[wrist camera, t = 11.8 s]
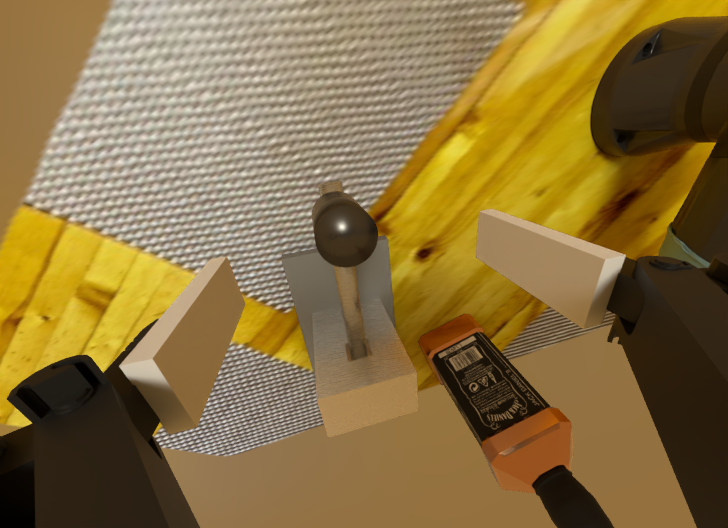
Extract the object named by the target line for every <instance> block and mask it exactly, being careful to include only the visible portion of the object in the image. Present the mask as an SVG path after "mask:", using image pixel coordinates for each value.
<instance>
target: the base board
mask: <svg viewBox="0 0 728 528" xmlns="http://www.w3.org/2000/svg"><path fill="white" fill-rule="evenodd" d="M281 260H282V263H283V267H284V270H285V274H286V277H287V281H288V284H289V288H290V291H291V295H292V298H293V302H294V305H295V309H296V312H297V316H298V319H299V323H300V326H301V330H302V333H303V337H304V340H305V343H306V347H307V350H308V354H309V357H310V361H311V364H312V368H313V371H314V375H315V358H314V340H313V323H312V313H317V312H321V311H326V310H330V309H334V308H339V307H341V303H340V298H339V293H338V287H337V282H336V277H335V272H334V267H333V265H332V264H330V263H328V262H327V261H325V260H324V259H323V258H322V256H321V255H320V254H319V252H318V250H317V248H316V249H311V250H305V251H300V252H295V253H290V254H284V255H282V259H281ZM355 272H356V278H357V285H358V292H359V298H360V303H361V302H365V301H370V300H374V299H379V298H380V300H381V302H382V304H383V306H384V308H385V310H386V312H387V314H388V316H389V318H390V320H391V322H392V324H393V326H394V328H395V319H394V307H393V295H392V283H391V271H390V259H389V248H388V239H387V238H386V236H385V235H384V236H379V237H378V241H377V245H376V248H375V250H374V252H373V253H372V255H371V256H370V257H369V258H368V259H367V260H366V261H364V262H363V263H361V264H359V265H357V266H355ZM315 378H316V375H315Z"/></svg>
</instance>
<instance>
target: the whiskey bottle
mask: <svg viewBox="0 0 728 528" xmlns="http://www.w3.org/2000/svg"><path fill="white" fill-rule="evenodd" d="M418 342H419V344H420V347H421V349H422V351H423V353H424V355H425V357H426V359H427V361H428V363H429V365H430V367H431V369H432V371H433V373H434V374H435V376H436V377H437V379H438V381H439V382H440V384H441V385H444V386H445V388H446V390H447V391H448V393H449V395H450V396H451V398H452V400H453V401H454V403H455V405H456V406H457V408H458V410H459V411H460V413H461V414H462V416H463V418H464V419H465V421H466V423H467V425H468V426H469V428H470V430H471V431H472V433H473V434H474V436H475V438H476V440H477V441H478V443H479V444H480V446H481V448H482V451H483V453H484V455H485V458H486V460H487V462H488V465H489V467H490V469H491V471H492V474H493V475H494V477H495V479H496V481H497V482H498V484H499V486H500V487H501V489H503V490H512V491H519V492H527V493H536V494H537V495H538V496H540V498H541V500H542V502H543V504H544V507H545V509H546V510H547V512H548V514H549V516H550V517H551V520H552V521H553V522H554V524H555V525H556V526H557V528H614V527H613V525H612V523H611V521H610V520H609V518H608V517H607V516H606V514H605V513H604V511H603V510H602V508H601V507H600V505H599V504H598V502H597V501H596V499H595V498H594V497H593V496H592V495H591V494H590V493H589V492H588V491H587V490H586V489H585V488H584V486H582V484H580V483H579V482H578V481H577V480H576V479H575V478H574V477H573V476H572V472H571V464H572V458H573V455H574V451H573V438H572V426H571V422H570V421H569V420H568V419H567V417H566V416H565V415H564V414H563V413H562V412H561V411H560V410H559V409H557V408H554V407H550V405H549V404H548V403H547V402H546V401H545V400H544V399H543V398H542V397H541V396H540V395H539V393H538V392H537V391H536V390H535V389H534V388H533V387H532V386H531V385H530V384H529V382H528V381H527V380H526V379H525V378H524V377H523V376H522V375H521V374H520V373H519V372H518V370H517V369H516V368H515V367H514V366H513V365H512V364H511V363H510V362H509V361H508V359H507V358H506V357H505V356H504V355H503V354H502V353H501V352H500V351H499V350H498V349H497V347H496V346H495V345H494V344H493V343H492V342H491V341H490V340H489V339H488V338H487V336H486V335H485V334H484V331H483V328H482V327H481V326H480V325H479V324H478V322H477V321H476V320H475V319H474V318H473V317H472V316H471V315H469V314H463V315H461V316H459V317H457V318H456V319H454V320H452V321H450V322H448V323H446V324H444V325H442V326H440V327H438V328H436V329H434V330H432V331H430V332H429V333H427V334H425V335H423V336H421V338H420V340H419V341H418Z"/></svg>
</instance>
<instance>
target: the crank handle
mask: <svg viewBox="0 0 728 528" xmlns="http://www.w3.org/2000/svg"><path fill="white" fill-rule="evenodd" d="M318 188H319V194H320V198H319V199H318V200H317V201H316V203H315V204H314V207H313V210H312V220H313V228H314V235H315V242H316V247H317V250H318V252H319V254H320V255H321V256H322V258H323V259H324V260H325V261H327V262H328V263H330V264H332V265H333V267H334V272H335V277H336V282H337V287H338V293H339V298H340V303H341V308H342V314H343V319H344V324H345V329H346V334H347V340H348V345H349V350H350V355H351V360H356V359H360V358H364V357H368V351H367V345H366V338H365V331H364V325H363V318H362V311H361V305H360V298H359V292H358V285H357V278H356V272H355V266H357V265H359V264H361V263H363V262H364V261H366V260H367V259H368V258H369V257H370V256H371V255H372V253H373V252H374V250H375V248H376V245H377V241H378V231H377V227H376V224H375V222H374V221H373V219H372V218H371V217H370V216H369V215H368V213H367V212H366V211H365V210H364V209H363V208H362V207H361V206H360V205H359V204H358V203H357V202H356V201H355V200H354V199H353V198H352V197H351V196H350V195H348V194H346V193H344V192H343V186H342V181H332V182H326V183H322V184H319V185H318Z"/></svg>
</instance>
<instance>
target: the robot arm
mask: <svg viewBox="0 0 728 528" xmlns="http://www.w3.org/2000/svg"><path fill="white" fill-rule="evenodd" d="M592 131H593V136H594V139H595V141H596V143H597V145H598V146H599V148H600V149H601V150H602V151H603V152H605V153H607V154H609V155H612V156H630V157H631V156H641V155H646V154H650V153H654V152H658V151H662V150H667V149H671V148H675V147H679V146H683V145H687V144H692V143H703V142H717V143H716V144H715V146H714V148H713V150H712V152H711V154H710V156H709V157H710V158H708V159H707V161H706V162H705V164H704V166H703V168H702V170H701V172H700V173H699V175H698V177H697V179H696V181H695V183H694V185H693V186H692V188H691V190H690V192H689V194H688V196H687V198H686V199H685V201H684V203H683V205H682V207H681V208H680V210H679V212H678V214H677V215H676V217H675V219H674V221H673V222H671V223H670V224H669V226H668V228H667V235H666V237H665V239H664V241H663V244H662V246H661V248H660V250H659V256H645V257H640V258H639V259H637V261H635V260H632V259H629V258H626V255H625V254H622V253H619V252H616V251H613V250H610V249H607V248H604V247H602V246H599V245H596V244H593V243H590V242H587V241H584V240H581V239H578V238H575V237H573V236H570V235H567V234H564V233H561V232H558V231H555V230H552V229H549V228H546V227H543V226H541V225H538V224H535V223H532V222H529V221H526V220H523V219H520V218H517V217H514V216H512V215H509V214H506V213H503V212H500V211H497V210H494V209H489V210H483V211H479V222H478V236H477V249H476V258H478V259H479V260H481V261H482V262H484V263H485V264H487V265H488V266H490V267H491V268H493V269H494V270H496V271H497V272H499V273H500V274H502V275H503V276H505V277H506V278H508V279H509V280H511V281H512V282H514V283H515V284H517V285H518V286H520V287H521V288H523V289H524V290H526V291H527V292H529V293H530V294H532V295H533V296H535V297H536V298H538V299H539V300H541V301H542V302H544V303H545V304H547V305H548V306H550V307H551V308H553V309H554V310H556V311H557V312H559V313H560V314H562V315H563V316H565V317H566V318H568V319H569V320H571V321H572V322H574V323H575V324H577V325H578V326H580V327H581V328H583V329H584V328H588V327H592V326H596V325H600V324H602V321H603V319H604V316H605V313H606V310H609V311H611V312H612V313H614V314H616V317H615V320H614V322H613V325H612V328H611V330H610V333H609V336H608V340H607V341H608V342H612V340H613V338H615V337H619V341H618V344H621V345H622V346H623V349H624V351H625V353H626V356H627V358H628V361H629V363H630V366H631V368H632V371H633V373H634V375H635V378H636V380H637V382H638V385H639V388H640V390H641V392H642V395H643V397H644V400H645V402H646V405H647V407H648V409H649V412H650V414H651V417H652V419H653V422H654V424H655V427H656V429H657V431H658V434H659V436H660V438H661V441H662V443H663V446H664V448H665V451H666V453H667V456H668V458H669V461H670V463H671V465H672V468H673V470H674V473H675V475H676V478H677V480H678V482H679V485H680V487H681V490H682V492H683V495H684V497H685V500H686V502H687V504H688V507H689V509H690V512H691V514H692V517H693V519H694V521H695V524H696V526H697V528H728V16H717V17H683V18H677V19H673V20H670V21H667V22H664V23H661V24H658V25H655V26H653V27H650V28H648V29H646V30H644V31H642V32H641V33H639V34H638V35H636V36H635V37H634V38H633V39H631V40H630V41H629V42H628V43H627V44H626V45H625V46H624V47H623V48H622V49H621V51H620V52H619V53H618V54H617V55H616V57H615V58H614V60H613V61H612V62H611V64H610V66H609V67H608V69H607V71H606V72H605V74H604V76H603V78H602V81H601V83H600V85H599V88H598V90H597V93H596V97H595V100H594V105H593V111H592ZM244 306H245V302H244V300H243V297H242V294H241V292H240V289H239V287H238V284H237V281H236V279H235V276H234V274H233V271H232V268H231V266H230V263H229V261H228V258H227V257H222V258H216V259H211V260H209V261H208V263H207V264H206V265H205V266H204V267H203V268H202V270H201V271H200V272H199V273H198V274H197V275H196V277H195V278H194V279H193V280H192V281H191V282H190V284H189V285H188V286H187V287H186V288H185V289H184V291H183V292H182V293H181V294H180V295H179V297H178V298H177V299H176V300H175V301H174V302H173V304H172V305H171V306H170V307H169V308H168V309H167V311H166V312H165V313H164V314H163V315H162V316H161V318H160V319H156V320H155V321H154V322H152V323H151V324H149V325H148V326H147V327H145V328H144V329H143V330H142V331H141V332H140V333H139V334H138V335H137V336H136V337H135V339H134V340H133V342H131V343H130V344H129V345H128V346H127V347H126V349H125V351H123V352H122V353H121V354H120V355H119V356H118V357H117V359H116V360H115V361H114V362H113V363H112V364H111V365H110V366H109V368H108V369H107V370H106V371H105V372H104V373H103V372H102V371H101V370H100V368H99V367H98V366H97V365H96V363H95V362H94V361H93V359H92V358H91V357H89V356H88V355H76V356H73V357H69V358H65V359H63V360H60V361H58V362H55V363H53V364H50V365H49V366H47V367H45V368H43V369H41V370H39V371H37V372H35V373H34V374H32V375H31V376H29V377H28V378H26V379H25V380H23V381H22V382H21V383H20V384H19V385H17V386H16V387H15V388H14V389H13V390H12V391H11V392H10V394H9V396H8V398H7V400H8V401H9V402H10V403H11V404H12V405H14V406H15V407H16V408H17V409H18V410H19V411H20V412H21V413H22V414H23V415H24V416H25V417H27V418H28V419H29V420H30V421H31V422H32V423H33V424H30V425H28V426H25V427H23V428H21V429H18V430H16V431H13V432H11V433H9V434H6V435H4V436H0V528H200V527H199V525H198V523H197V521H196V519H195V517H194V515H193V513H192V511H191V509H190V506H189V504H188V502H187V501H186V499H185V496H184V495H183V492H182V490H181V488H180V486H179V484H178V482H177V480H176V478H175V476H174V474H173V472H172V470H171V468H170V466H169V464H168V462H167V460H166V458H165V456H164V454H163V452H162V450H161V448H160V446H159V444H158V442H157V441H156V440H155V438H154V437H153V436H152V435H153V433H154V431H155V429H156V428H157V426H158V424H159V422H160V423H161V424H162V425H163V427H164V428H165V429H166V431H167V432H168V434H172V433H176V432H180V431H184V430H188V429H192V428H196V427H197V426H198V423H199V420H200V418H201V415H202V413H203V410H204V408H205V405H206V403H207V400H208V398H209V395H210V393H211V390H212V387H213V385H214V382H215V380H216V377H217V375H218V372H219V370H220V367H221V365H222V362H223V360H224V357H225V354H226V352H227V349H228V347H229V344H230V342H231V339H232V337H233V334H234V332H235V329H236V327H237V324H238V321H239V319H240V316H241V314H242V311H243V309H244Z"/></svg>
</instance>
